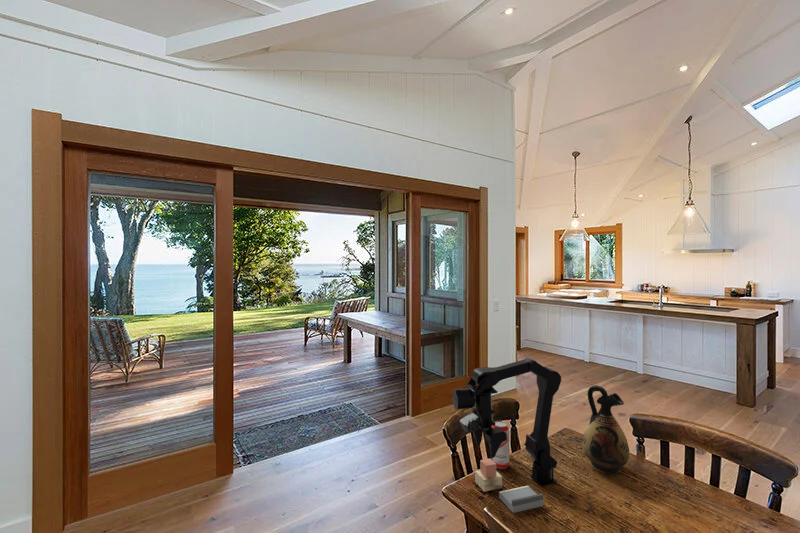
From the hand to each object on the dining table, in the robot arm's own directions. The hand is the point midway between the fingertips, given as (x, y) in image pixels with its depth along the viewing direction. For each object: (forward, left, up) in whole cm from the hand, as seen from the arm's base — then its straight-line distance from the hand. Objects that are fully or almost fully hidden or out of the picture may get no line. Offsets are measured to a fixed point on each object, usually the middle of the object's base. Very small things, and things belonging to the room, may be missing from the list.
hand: (485, 451), depth 127 cm
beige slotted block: (-2, -1, -13) cm, 13 cm away
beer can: (-13, -10, -13) cm, 21 cm away
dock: (-7, +11, -12) cm, 17 cm away
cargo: (-1, -1, -9) cm, 9 cm away
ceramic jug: (-49, +3, -13) cm, 50 cm away
